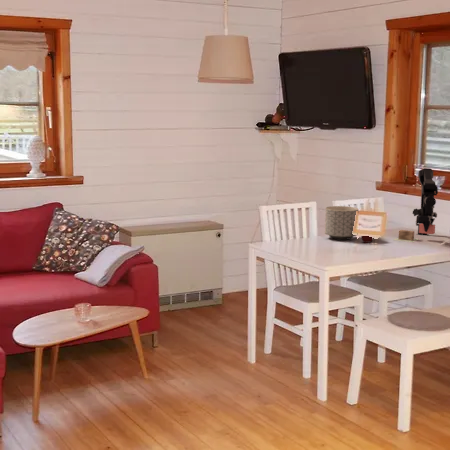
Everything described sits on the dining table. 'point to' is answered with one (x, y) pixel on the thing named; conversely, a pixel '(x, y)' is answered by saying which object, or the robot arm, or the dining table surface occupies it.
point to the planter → (340, 222)
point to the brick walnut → (406, 235)
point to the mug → (367, 239)
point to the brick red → (430, 230)
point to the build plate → (406, 240)
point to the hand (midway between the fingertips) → (426, 231)
